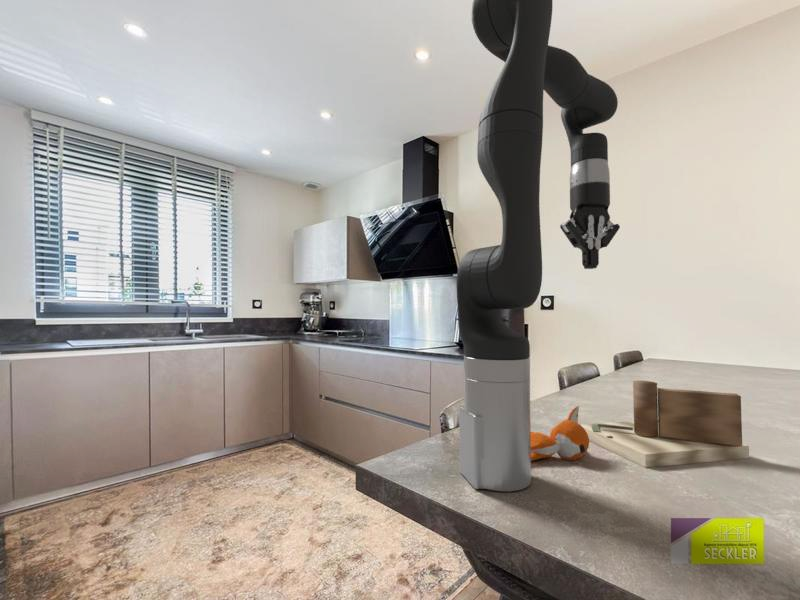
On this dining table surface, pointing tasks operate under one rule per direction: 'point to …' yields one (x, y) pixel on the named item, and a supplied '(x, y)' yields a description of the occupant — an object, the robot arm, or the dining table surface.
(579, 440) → the toy
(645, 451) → the light wood flat board
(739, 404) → the brown piece
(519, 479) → the robot arm
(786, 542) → the dining table surface
